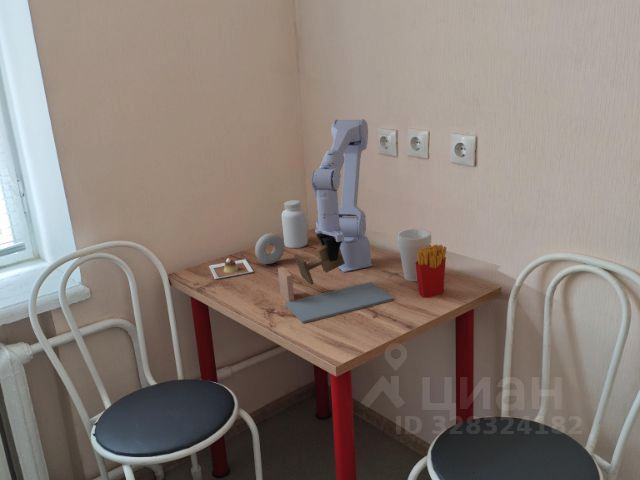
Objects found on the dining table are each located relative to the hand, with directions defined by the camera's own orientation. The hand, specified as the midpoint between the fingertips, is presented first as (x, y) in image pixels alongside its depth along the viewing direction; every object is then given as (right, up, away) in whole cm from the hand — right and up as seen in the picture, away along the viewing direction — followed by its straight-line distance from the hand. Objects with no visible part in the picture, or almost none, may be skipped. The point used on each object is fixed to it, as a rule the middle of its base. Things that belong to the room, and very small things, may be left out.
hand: (331, 259), depth 181 cm
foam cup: (+24, -5, +6) cm, 25 cm away
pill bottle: (-11, +4, +39) cm, 41 cm away
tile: (-12, -11, -2) cm, 16 cm away
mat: (+2, -11, -7) cm, 14 cm away
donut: (-19, -2, +24) cm, 31 cm away
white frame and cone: (-31, -5, +22) cm, 38 cm away
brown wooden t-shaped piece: (-2, -4, 0) cm, 4 cm away
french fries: (+27, -9, -6) cm, 29 cm away
